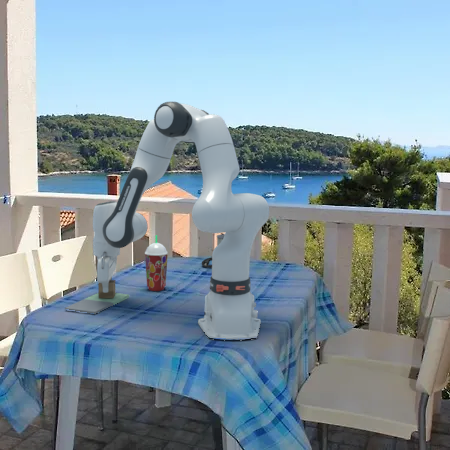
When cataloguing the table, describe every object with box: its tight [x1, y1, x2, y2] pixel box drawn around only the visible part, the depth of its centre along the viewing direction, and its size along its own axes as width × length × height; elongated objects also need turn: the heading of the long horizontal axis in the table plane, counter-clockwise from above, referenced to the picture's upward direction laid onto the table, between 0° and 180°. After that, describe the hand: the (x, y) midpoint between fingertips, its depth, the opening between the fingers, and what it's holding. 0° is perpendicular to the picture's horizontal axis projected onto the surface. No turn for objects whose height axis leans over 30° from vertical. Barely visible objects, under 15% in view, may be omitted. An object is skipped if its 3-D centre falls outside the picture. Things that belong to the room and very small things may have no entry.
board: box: [64, 292, 130, 315], centre depth 190 cm, size 22×11×1 cm, turn 161°
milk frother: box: [201, 233, 225, 269], centre depth 245 cm, size 14×16×15 cm
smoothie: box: [144, 234, 169, 292], centre depth 209 cm, size 8×8×20 cm
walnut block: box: [97, 279, 116, 298], centre depth 195 cm, size 5×5×5 cm
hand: (107, 289), depth 195 cm, fingers open, 5 cm apart
